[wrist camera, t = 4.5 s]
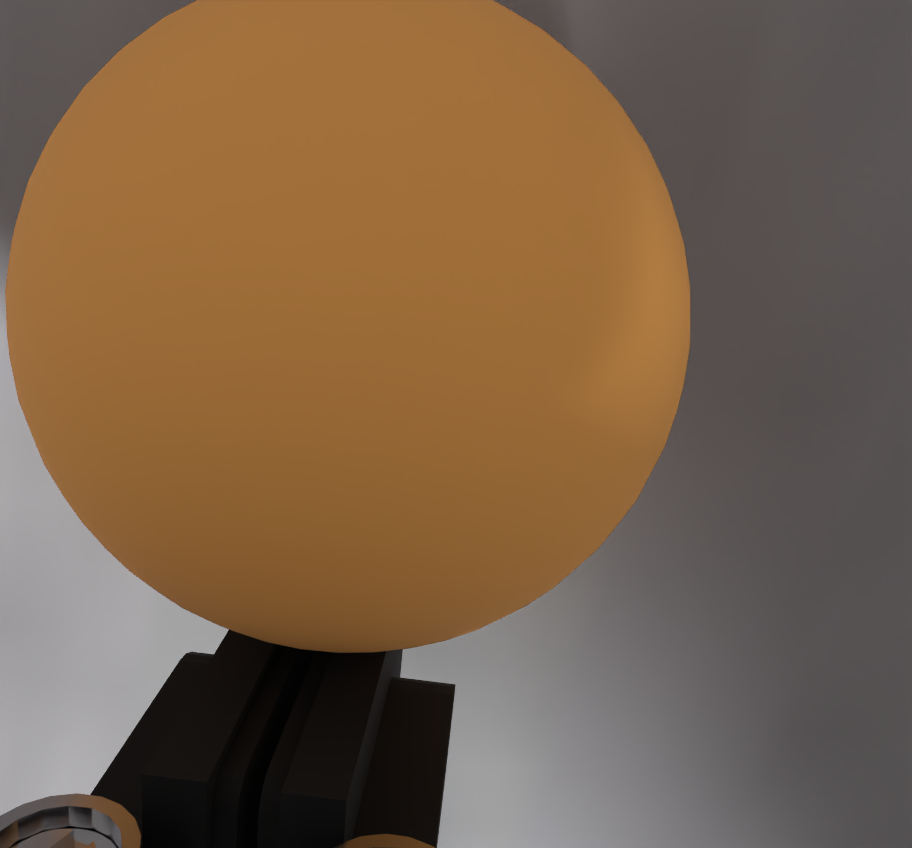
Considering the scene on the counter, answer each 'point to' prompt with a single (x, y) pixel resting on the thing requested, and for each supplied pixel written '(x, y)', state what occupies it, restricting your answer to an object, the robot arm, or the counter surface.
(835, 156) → the counter surface
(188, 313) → the ball
